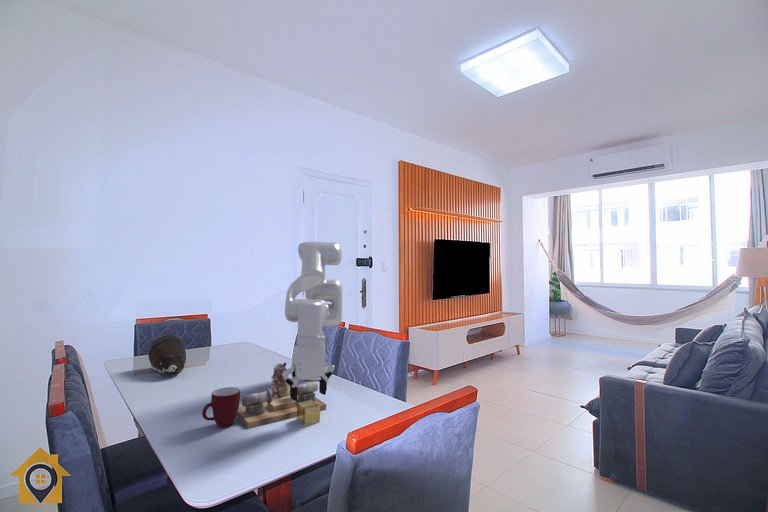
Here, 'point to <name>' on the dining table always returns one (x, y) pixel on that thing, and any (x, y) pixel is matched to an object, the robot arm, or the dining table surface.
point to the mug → (224, 406)
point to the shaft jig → (274, 405)
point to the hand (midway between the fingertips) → (308, 396)
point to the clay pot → (167, 354)
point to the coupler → (308, 412)
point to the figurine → (279, 382)
